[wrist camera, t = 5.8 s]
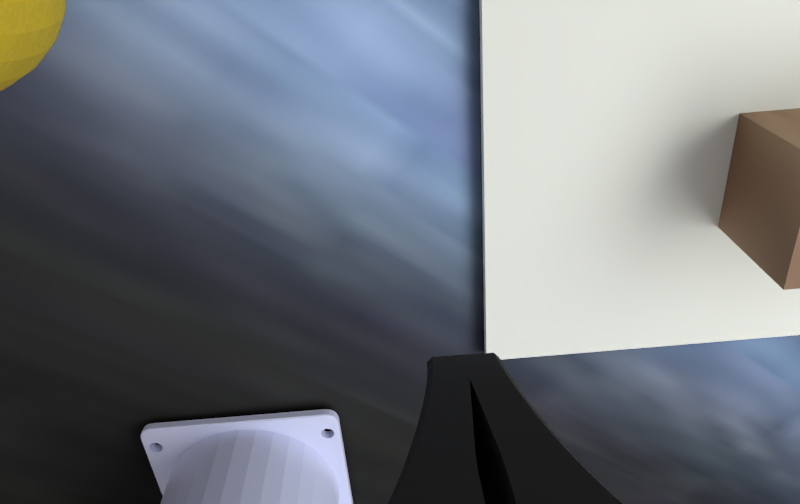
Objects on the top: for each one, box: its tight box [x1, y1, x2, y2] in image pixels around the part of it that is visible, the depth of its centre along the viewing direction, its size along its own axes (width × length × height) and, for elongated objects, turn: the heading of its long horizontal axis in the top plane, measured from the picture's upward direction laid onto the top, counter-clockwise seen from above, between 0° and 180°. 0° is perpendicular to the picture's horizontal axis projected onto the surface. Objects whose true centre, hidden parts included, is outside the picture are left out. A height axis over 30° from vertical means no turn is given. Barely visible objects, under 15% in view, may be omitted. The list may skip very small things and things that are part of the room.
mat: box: [479, 0, 800, 360], centre depth 21 cm, size 14×18×1 cm
